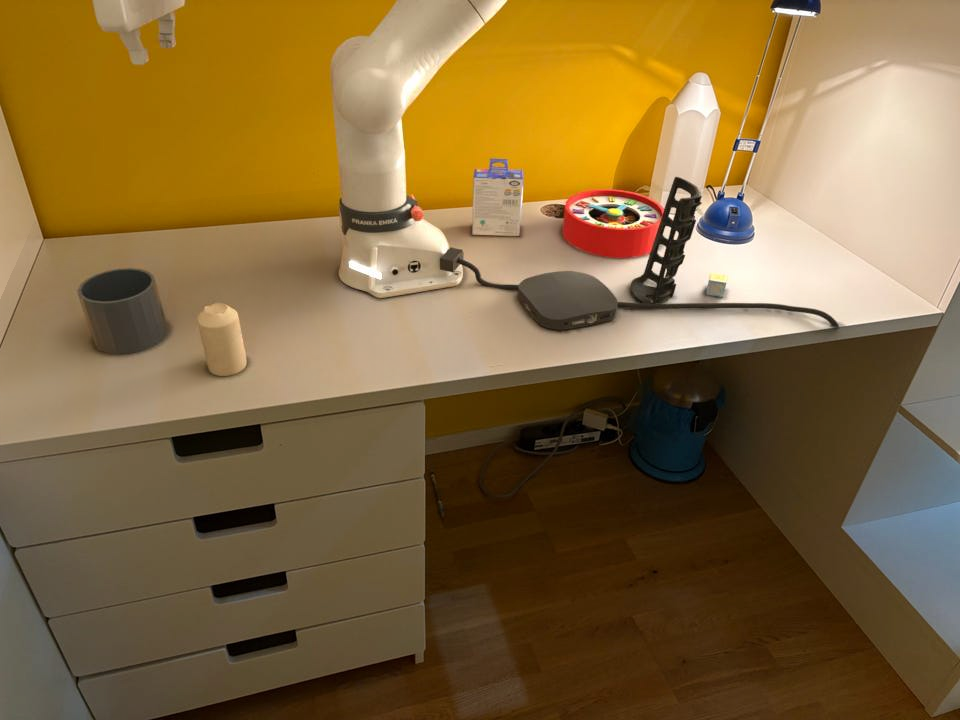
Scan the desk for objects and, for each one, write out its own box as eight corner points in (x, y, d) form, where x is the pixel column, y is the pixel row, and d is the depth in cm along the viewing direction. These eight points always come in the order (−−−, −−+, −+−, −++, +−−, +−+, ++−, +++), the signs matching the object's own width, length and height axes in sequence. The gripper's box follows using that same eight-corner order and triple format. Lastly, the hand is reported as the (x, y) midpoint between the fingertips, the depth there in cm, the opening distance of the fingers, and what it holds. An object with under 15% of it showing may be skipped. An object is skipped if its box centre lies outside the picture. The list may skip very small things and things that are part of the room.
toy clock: (638, 239, 134) (546, 211, 143) (634, 267, 137) (543, 238, 146) (682, 205, 147) (594, 181, 157) (676, 232, 151) (591, 207, 160)
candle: (236, 379, 105) (224, 320, 100) (201, 373, 106) (187, 315, 100) (253, 357, 110) (242, 300, 104) (219, 352, 111) (207, 295, 105)
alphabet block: (705, 294, 130) (708, 279, 128) (707, 286, 132) (710, 271, 130) (722, 298, 129) (726, 283, 127) (724, 290, 131) (728, 275, 129)
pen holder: (172, 315, 119) (160, 266, 114) (161, 351, 110) (147, 300, 105) (103, 319, 117) (87, 270, 112) (86, 357, 109) (68, 305, 104)
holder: (622, 277, 133) (651, 173, 122) (661, 280, 134) (693, 177, 123) (637, 308, 124) (670, 200, 113) (679, 311, 126) (716, 204, 114)
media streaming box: (583, 279, 133) (585, 265, 131) (624, 320, 122) (627, 304, 120) (510, 292, 128) (511, 277, 126) (545, 335, 117) (547, 319, 115)
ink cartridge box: (519, 225, 151) (524, 157, 143) (520, 237, 147) (525, 167, 138) (472, 224, 151) (474, 155, 143) (471, 235, 147) (473, 165, 138)
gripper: (117, -52, 82) (147, 75, 90) (183, -69, 99) (203, 40, 107) (62, -54, 82) (96, 73, 90) (137, -70, 99) (161, 38, 107)
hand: (155, 55), depth 99 cm, fingers open, 8 cm apart
